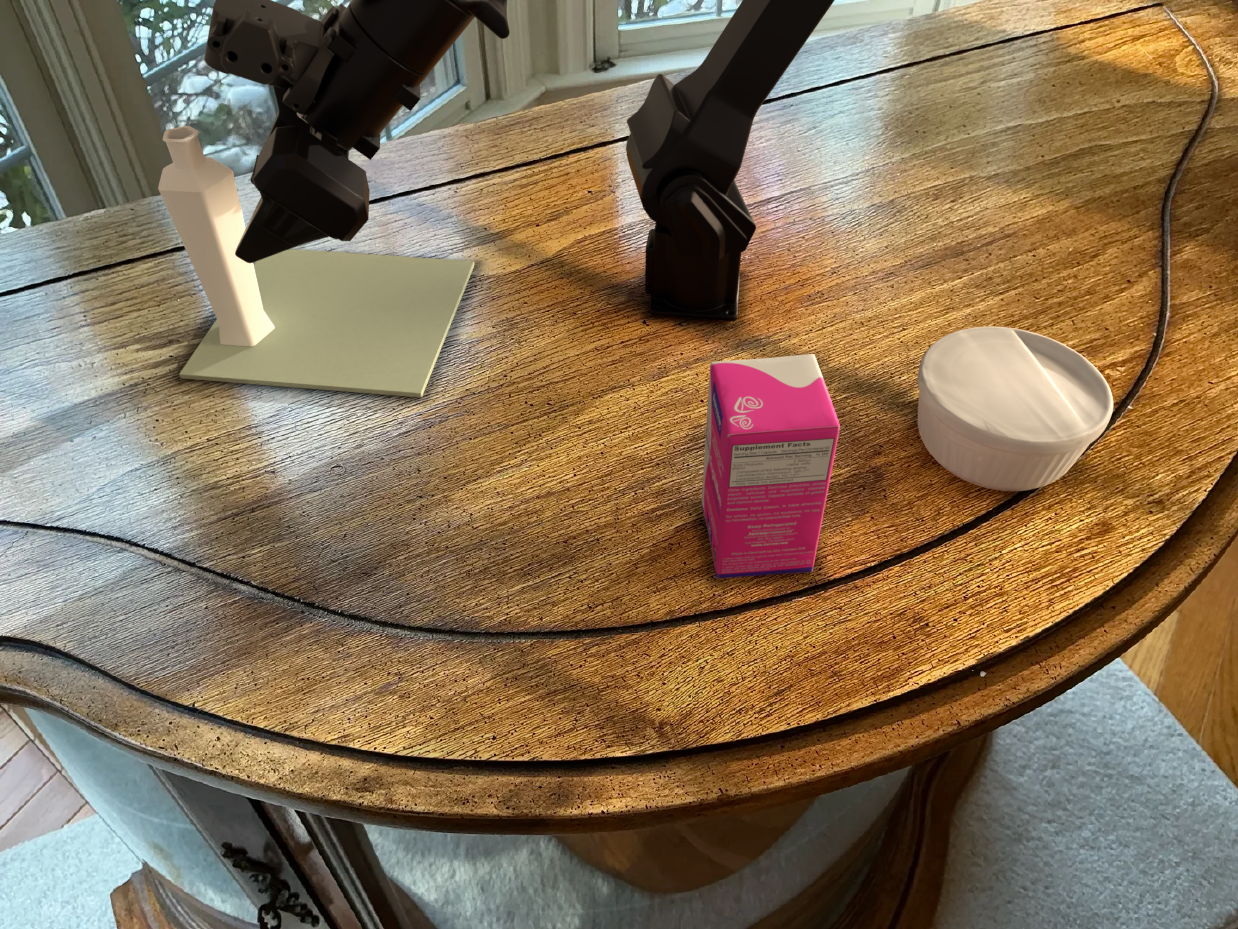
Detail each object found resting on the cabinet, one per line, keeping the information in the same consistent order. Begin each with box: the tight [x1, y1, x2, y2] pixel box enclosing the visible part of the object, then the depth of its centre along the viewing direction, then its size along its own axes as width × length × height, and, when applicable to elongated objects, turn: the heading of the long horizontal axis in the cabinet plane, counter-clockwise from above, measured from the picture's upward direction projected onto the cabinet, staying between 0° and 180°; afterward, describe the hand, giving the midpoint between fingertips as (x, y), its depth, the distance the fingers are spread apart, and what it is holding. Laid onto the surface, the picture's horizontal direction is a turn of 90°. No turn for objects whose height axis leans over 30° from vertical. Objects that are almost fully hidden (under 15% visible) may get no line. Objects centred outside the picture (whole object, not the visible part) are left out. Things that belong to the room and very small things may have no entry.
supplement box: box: [701, 353, 841, 580], centre depth 53 cm, size 6×6×12 cm
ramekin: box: [916, 325, 1114, 492], centre depth 61 cm, size 11×11×5 cm
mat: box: [178, 248, 475, 398], centre depth 72 cm, size 17×16×1 cm
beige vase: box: [157, 125, 275, 346], centre depth 65 cm, size 5×4×15 cm
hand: (249, 219), depth 65 cm, fingers open, 9 cm apart
